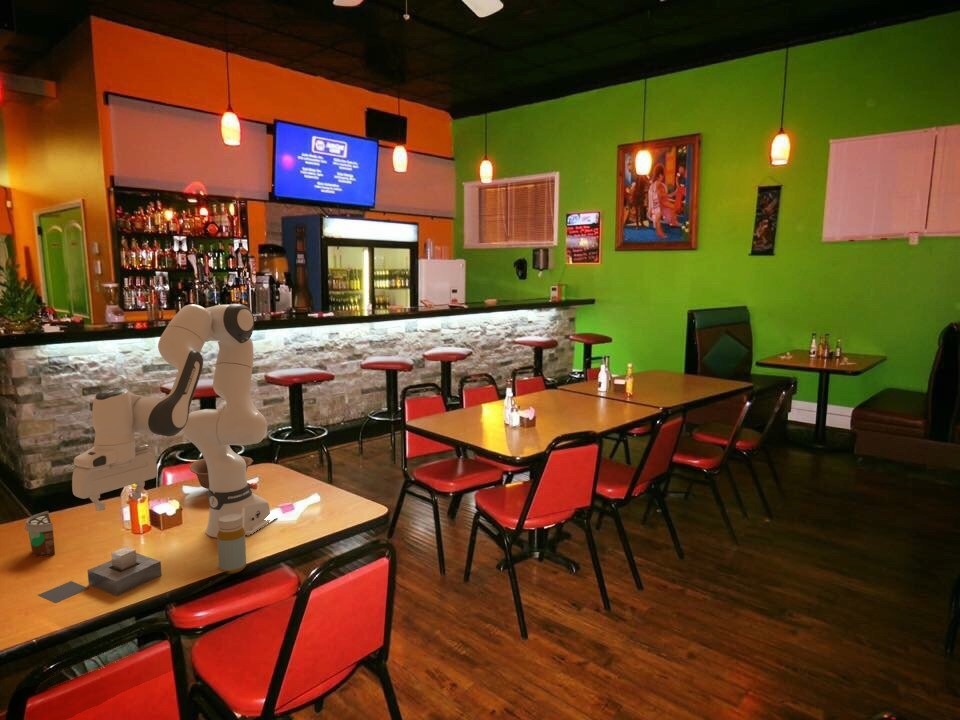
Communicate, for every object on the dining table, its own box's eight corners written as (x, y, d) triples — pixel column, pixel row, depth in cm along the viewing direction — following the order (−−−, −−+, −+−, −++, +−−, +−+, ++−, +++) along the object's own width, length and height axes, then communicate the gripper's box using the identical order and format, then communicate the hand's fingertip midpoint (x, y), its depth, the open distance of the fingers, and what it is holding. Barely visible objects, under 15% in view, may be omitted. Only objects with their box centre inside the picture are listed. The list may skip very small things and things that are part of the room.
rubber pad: (71, 584, 159) (71, 580, 159) (89, 592, 155) (89, 588, 155) (37, 598, 152) (37, 595, 152) (56, 606, 148) (55, 603, 148)
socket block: (133, 568, 167) (132, 551, 167) (161, 578, 162) (160, 561, 161) (89, 588, 157) (87, 570, 156) (117, 599, 151) (116, 581, 151)
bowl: (202, 506, 213) (200, 476, 211) (182, 489, 229) (181, 461, 227) (263, 491, 227) (262, 463, 226) (241, 476, 244) (239, 450, 242)
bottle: (250, 562, 172) (247, 512, 170) (241, 574, 165) (238, 522, 163) (225, 562, 171) (222, 512, 169) (215, 574, 164) (212, 522, 162)
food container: (25, 547, 180) (22, 515, 178) (51, 541, 184) (48, 510, 182) (29, 562, 170) (25, 529, 169) (55, 556, 174) (52, 523, 173)
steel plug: (128, 574, 162) (126, 546, 161) (137, 578, 160) (135, 549, 159) (113, 581, 158) (111, 552, 157) (123, 585, 157) (120, 556, 156)
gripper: (146, 441, 165) (149, 490, 167) (66, 460, 147) (70, 514, 149) (161, 444, 162) (164, 494, 164) (81, 464, 144) (85, 519, 146)
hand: (119, 504), depth 156 cm, fingers open, 8 cm apart
